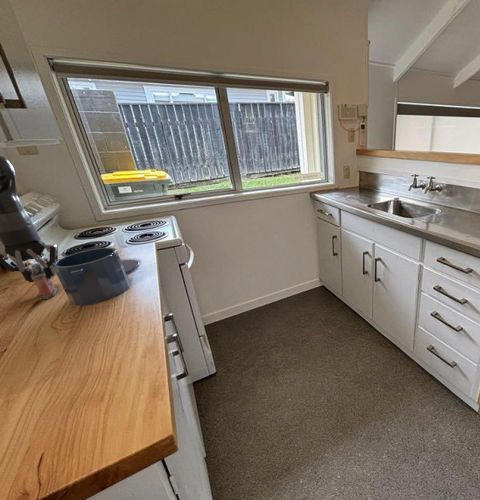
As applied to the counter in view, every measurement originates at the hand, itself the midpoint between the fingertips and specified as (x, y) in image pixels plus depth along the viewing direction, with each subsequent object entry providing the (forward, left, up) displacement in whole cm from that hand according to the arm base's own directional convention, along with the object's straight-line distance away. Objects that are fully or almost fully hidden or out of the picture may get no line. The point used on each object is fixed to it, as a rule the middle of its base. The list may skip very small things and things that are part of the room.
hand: (42, 279), depth 88 cm
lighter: (0, 0, -5) cm, 5 cm away
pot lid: (+15, +9, -5) cm, 18 cm away
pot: (+15, -9, -6) cm, 18 cm away
